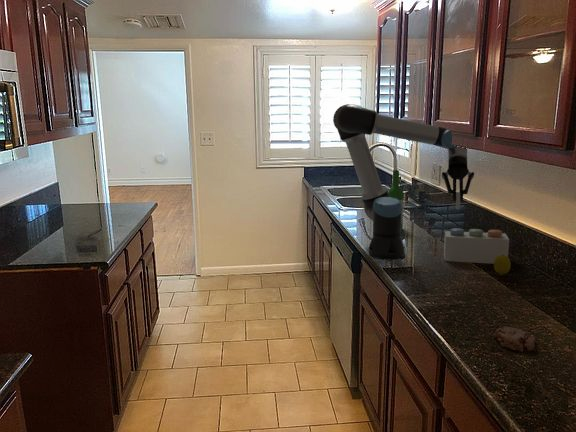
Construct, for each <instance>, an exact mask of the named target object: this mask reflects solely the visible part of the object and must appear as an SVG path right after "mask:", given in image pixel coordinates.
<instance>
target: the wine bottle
mask: <svg viewBox="0 0 576 432" xmlns="http://www.w3.org/2000/svg"><path fill="white" fill-rule="evenodd" d="M387 191H388V194H389V197H392V198H396V199H398V200H399V201H400V202H401V204H402V217H401V230H402V229H403V225H404V190H403V188H402V187H400V170H399V169H393V171H392V186H391V187H390V188H389V190H387Z"/></svg>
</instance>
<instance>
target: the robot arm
mask: <svg viewBox="0 0 576 432" xmlns="http://www.w3.org/2000/svg"><path fill="white" fill-rule="evenodd" d="M332 122H333V125H334V127H335V129H336V130H337V133H338V135H339V138H340V140H341V141H342V142H344V143H345V144H346V147H347V150H348V153H349V155H350V158H351V162H352V164H353V166H354V170H355V173H356V175H357V179H358V181H359V185H360V187H361V189H362V193H363V194H362V195H361V201H362V203H363V209H364V212H365V215H366V216H367V217H368V218H369V219H370V220H371V221H372V237H371V240H370V243H369V245H368V255H369V256H371V257H373V258H377V259H382V260H395V259H400V258H403V257H404V256H405V254H406V249H405V246H404V242H403V239H402V229H401V217H402V204H401V202H400V201H399V200H398V199H396V198H392V197H389V194H388V191H389V190H388V189H387V188H385V187H383V185H382V182H381V179H380V176H379V173H378V170H377V167H376V163H375V162H374V158H373V156H372V153H371V149H370V147H369V145H368V141H367V138H366V135H367V136H368V135H369V136H370V135H371V136H372V135H373V134H375V135H382V136H385V137H386V136H387V137H391V138H396V139H401V140H406V141H410V142H411V141H412V142H415V143H421V144H427V145H432V146H435V147H439V148H442V149H446V150H448V151H447V152H448V155H447V156H448V157H447V158H448V159H447V160H448V161H447V162H448V164H447V165H448V166H447V170H446V171H443V172H442V173H441V178H442V179H443V180H444V184H445V188H446V190H447V193H448V195H452V202H455V210H460V209H461V202H463V200H464V195H467V194H468V192H469V189H470V185H471V182H472V180H473V178H475V172H474V171H472V172H471V171H470V170H469V168H468V148H467V149H466V148H462V147H457V146H454V145H451V143H452V133H451V132H450V130H448V129H449V128H447V129H446V127H442V126H436V125H431V124H428V123H427V124H426V123H421V122H417V121H413V120H407V119H403V118H399V117H398V118H397V117H392V116H388V115H383V114H378V111H376V110H373V109H368V108H366V107H363V106H359V105H357V104H349V103H348V104H347V103H346V104H343V105H341V106H339V107H338V108H337V109H336V110H335V112H334V113H333V119H332ZM466 176H467V177H468V178H467V180H466V184H465V187H464V179H465V178H466ZM449 177H450V178H451V179H452V186H451V183H450V180H449ZM457 180H458V181H459V187H458V188H459V191H457Z"/></svg>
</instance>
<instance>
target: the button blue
mask: <svg viewBox="0 0 576 432" xmlns="http://www.w3.org/2000/svg"><path fill="white" fill-rule="evenodd" d="M450 231H451V232H450V233H452V236H463V234H464V232H465V229H463V228H460V227H459V228H457V227H453V228H450Z"/></svg>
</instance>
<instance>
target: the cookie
mask: <svg viewBox="0 0 576 432" xmlns="http://www.w3.org/2000/svg"><path fill="white" fill-rule="evenodd" d="M493 334H494V338H495V339H496V341H498V342H499V344H500V346H501V347H503V348H506V349H510V350H511V351H512V350H513V351H516V352H521V353H524V352H532V351H534V350H535V347H536V341H537V340H536V338H535V336H533V335H529V334H527V333H526V332H525V331H524V330H522V329H520V328H516V327H512V326H506V327H499V328H498V329H496V330H495V332H494V333H493Z"/></svg>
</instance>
